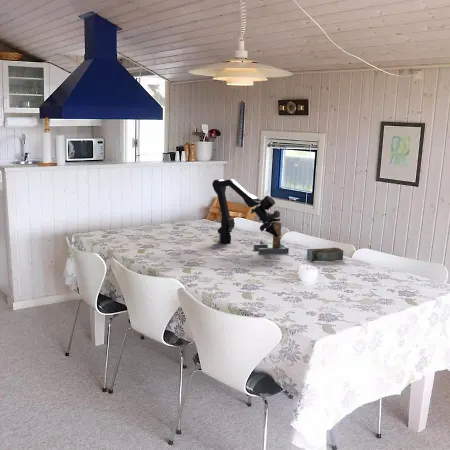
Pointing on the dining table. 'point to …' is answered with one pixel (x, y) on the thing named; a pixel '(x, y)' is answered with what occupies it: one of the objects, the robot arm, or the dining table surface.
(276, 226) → the walnut post
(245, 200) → the robot arm
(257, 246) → the metal rail corridor
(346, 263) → the dining table surface
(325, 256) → the dark grey box
